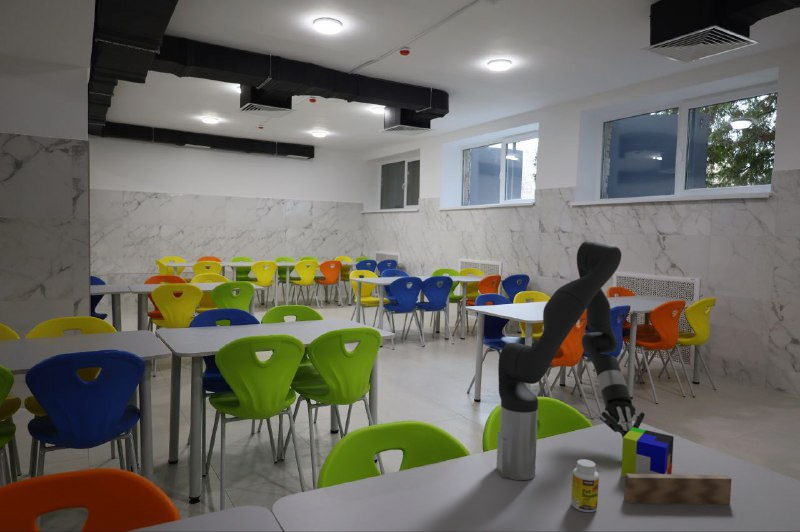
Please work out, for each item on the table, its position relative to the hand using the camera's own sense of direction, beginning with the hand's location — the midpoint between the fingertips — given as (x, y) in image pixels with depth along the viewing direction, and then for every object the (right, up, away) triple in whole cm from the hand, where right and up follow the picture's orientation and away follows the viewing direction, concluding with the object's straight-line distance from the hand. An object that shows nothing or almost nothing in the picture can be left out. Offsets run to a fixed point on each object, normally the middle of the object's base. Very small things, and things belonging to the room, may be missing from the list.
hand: (631, 445), depth 144 cm
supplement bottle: (-22, -5, -26) cm, 35 cm away
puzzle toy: (0, -5, -9) cm, 10 cm away
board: (+1, -5, -23) cm, 23 cm away
